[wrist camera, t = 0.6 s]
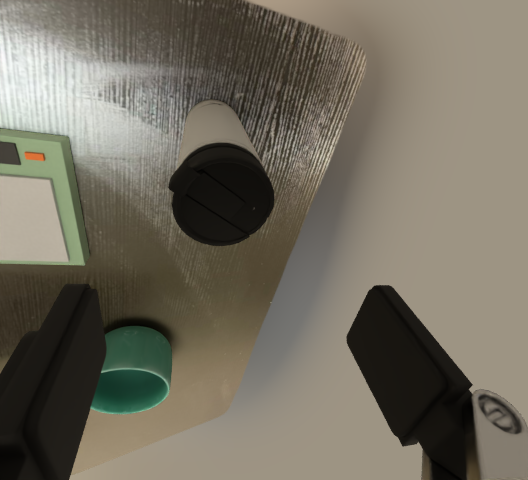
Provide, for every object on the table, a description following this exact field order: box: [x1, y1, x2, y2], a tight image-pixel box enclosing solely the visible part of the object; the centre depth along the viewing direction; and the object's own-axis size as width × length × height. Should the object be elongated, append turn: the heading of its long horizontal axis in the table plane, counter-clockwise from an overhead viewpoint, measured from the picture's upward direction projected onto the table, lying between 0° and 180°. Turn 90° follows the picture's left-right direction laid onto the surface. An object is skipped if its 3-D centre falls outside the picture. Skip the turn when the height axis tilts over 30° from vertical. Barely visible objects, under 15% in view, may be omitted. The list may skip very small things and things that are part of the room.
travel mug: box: [169, 99, 274, 246], centre depth 25 cm, size 6×7×20 cm
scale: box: [0, 128, 90, 265], centre depth 32 cm, size 16×14×3 cm
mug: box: [91, 326, 172, 414], centre depth 46 cm, size 17×13×10 cm
